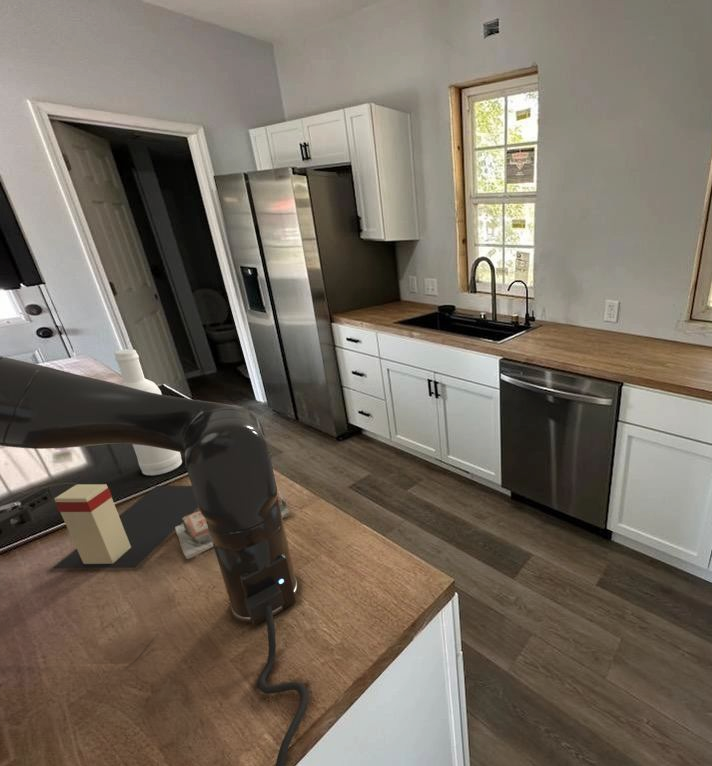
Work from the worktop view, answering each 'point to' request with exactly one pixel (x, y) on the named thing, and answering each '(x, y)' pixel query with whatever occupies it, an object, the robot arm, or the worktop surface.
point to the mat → (146, 525)
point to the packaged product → (205, 531)
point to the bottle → (130, 368)
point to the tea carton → (93, 523)
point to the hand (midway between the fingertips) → (19, 491)
